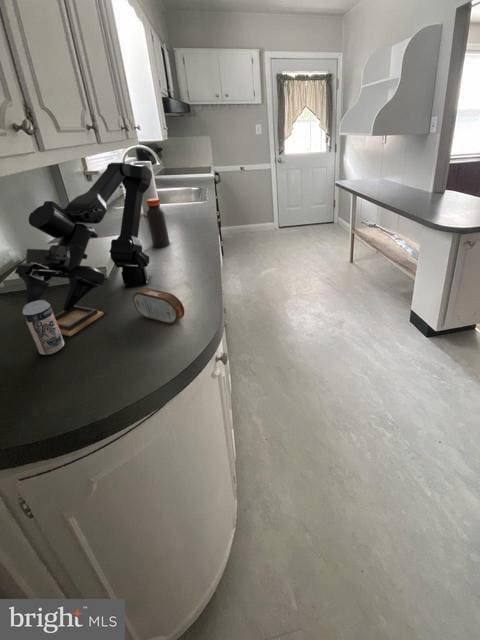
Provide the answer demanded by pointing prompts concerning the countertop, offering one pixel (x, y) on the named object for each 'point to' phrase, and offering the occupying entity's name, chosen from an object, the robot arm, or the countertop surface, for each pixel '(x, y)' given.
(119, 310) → the countertop surface
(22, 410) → the countertop surface
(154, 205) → the bottle
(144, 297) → the tin
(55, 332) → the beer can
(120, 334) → the countertop surface
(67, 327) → the socket pad
